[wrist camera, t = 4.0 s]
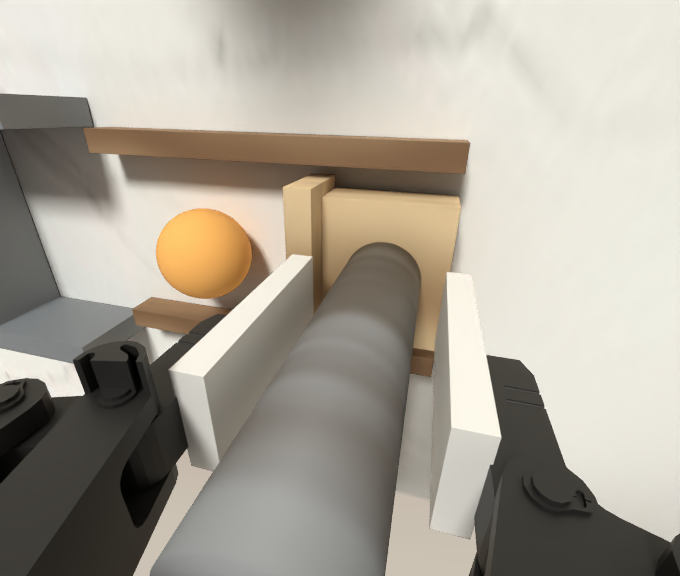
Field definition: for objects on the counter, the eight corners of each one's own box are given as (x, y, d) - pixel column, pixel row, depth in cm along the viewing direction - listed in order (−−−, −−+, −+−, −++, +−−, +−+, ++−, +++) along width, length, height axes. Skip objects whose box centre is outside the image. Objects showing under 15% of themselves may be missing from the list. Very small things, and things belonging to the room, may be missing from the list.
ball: (187, 197, 17) (122, 217, 14) (263, 203, 16) (215, 227, 13) (199, 272, 19) (145, 307, 16) (269, 281, 18) (228, 321, 15)
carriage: (312, 173, 15) (-86, 354, 4) (460, 182, 14) (551, 503, 2) (314, 317, 18) (100, 656, 7) (435, 335, 17) (423, 791, 5)
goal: (-32, 95, 18) (-145, 91, 14) (85, 97, 16) (-10, 93, 13) (51, 310, 23) (-17, 344, 20) (144, 326, 22) (88, 366, 18)
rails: (110, 126, 17) (82, 128, 15) (467, 140, 13) (470, 142, 12) (154, 312, 21) (136, 325, 20) (431, 357, 18) (430, 377, 16)
